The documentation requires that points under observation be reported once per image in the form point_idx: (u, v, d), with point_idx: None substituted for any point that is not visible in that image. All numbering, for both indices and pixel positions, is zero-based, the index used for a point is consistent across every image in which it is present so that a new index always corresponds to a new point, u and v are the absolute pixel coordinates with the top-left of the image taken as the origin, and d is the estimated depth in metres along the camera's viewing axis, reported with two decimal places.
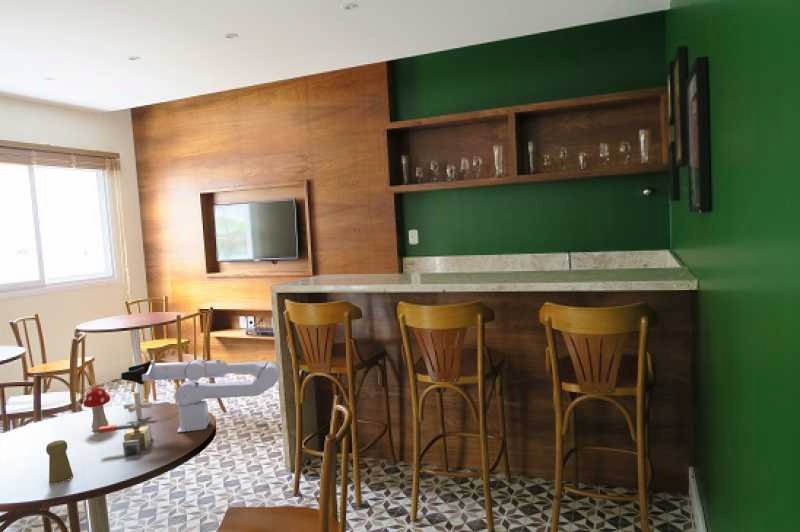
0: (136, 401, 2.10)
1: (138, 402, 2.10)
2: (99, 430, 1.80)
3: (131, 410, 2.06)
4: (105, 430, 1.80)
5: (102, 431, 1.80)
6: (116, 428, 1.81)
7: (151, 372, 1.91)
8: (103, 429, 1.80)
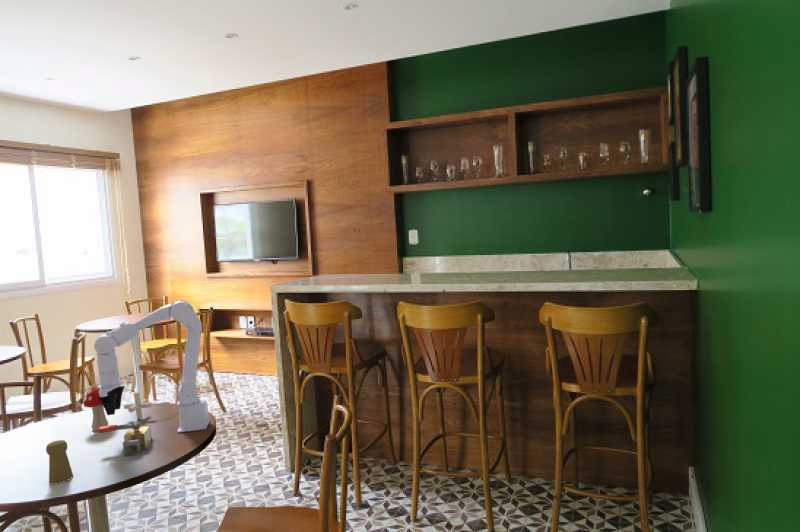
0: (136, 401, 2.10)
1: (138, 402, 2.10)
2: (99, 430, 1.80)
3: (131, 410, 2.06)
4: (105, 430, 1.80)
5: (102, 431, 1.80)
6: (116, 428, 1.81)
7: (105, 387, 1.84)
8: (103, 429, 1.80)
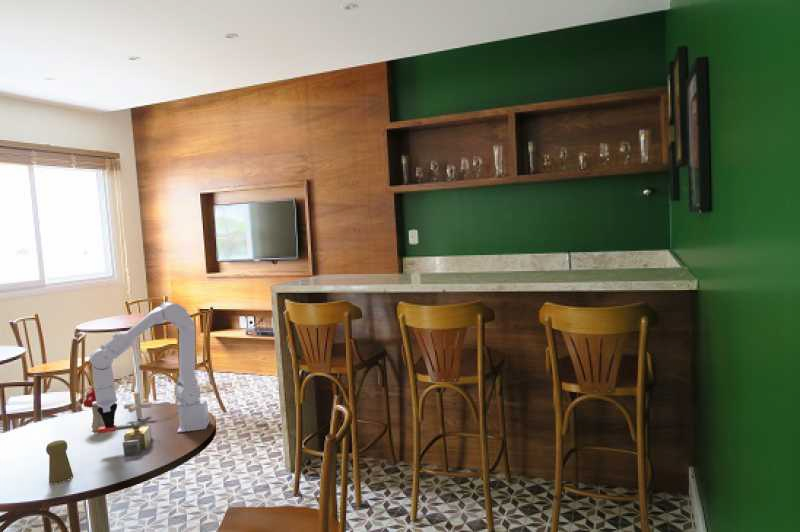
0: (136, 401, 2.10)
1: (138, 402, 2.10)
2: (99, 430, 1.79)
3: (131, 410, 2.06)
4: (105, 430, 1.80)
5: (102, 431, 1.79)
6: (116, 428, 1.80)
7: (104, 403, 1.79)
8: (103, 429, 1.79)
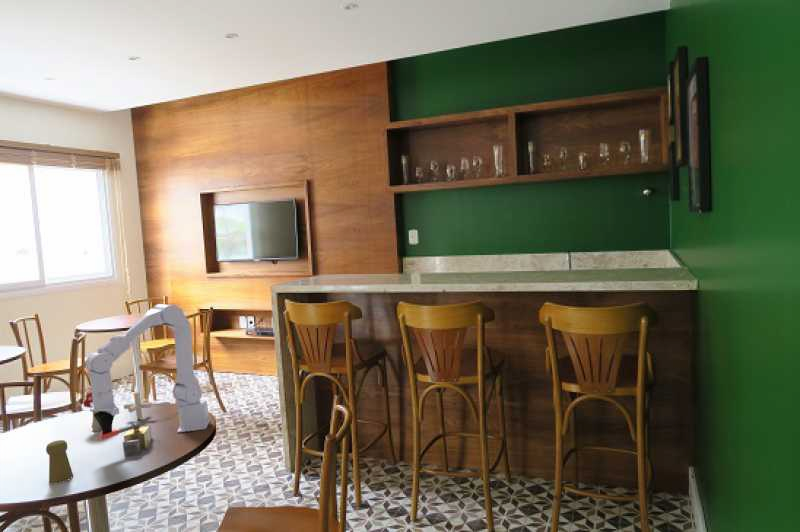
0: (136, 401, 2.10)
1: (138, 402, 2.10)
2: (102, 436, 1.74)
3: (131, 410, 2.06)
4: (108, 435, 1.75)
5: (105, 437, 1.74)
6: (119, 431, 1.77)
7: (106, 407, 1.74)
8: (106, 434, 1.74)
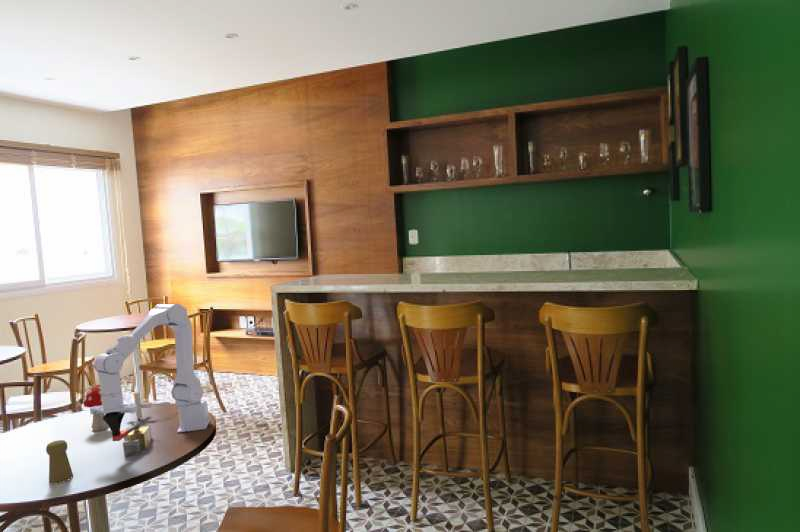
0: (136, 401, 2.10)
1: (138, 402, 2.10)
2: (119, 437, 1.72)
3: None
4: (122, 436, 1.73)
5: (121, 437, 1.72)
6: (128, 431, 1.77)
7: (120, 407, 1.72)
8: (121, 435, 1.73)
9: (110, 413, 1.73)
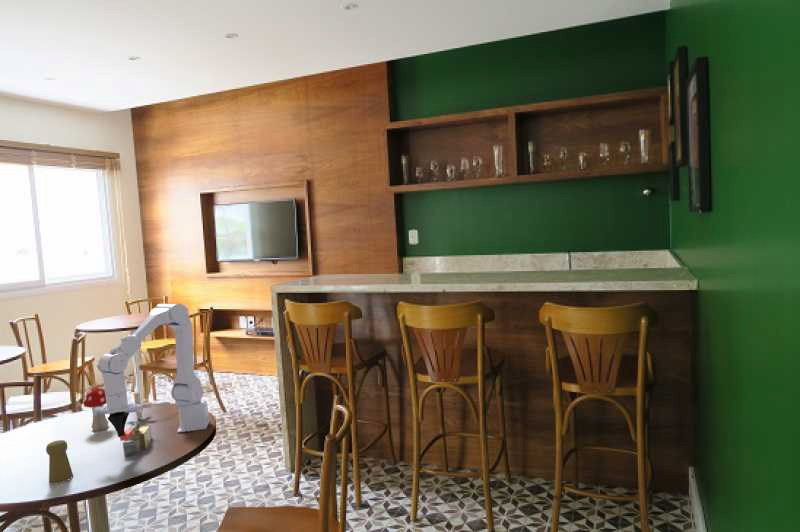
0: (136, 401, 2.10)
1: (138, 402, 2.10)
2: (127, 436, 1.72)
3: None
4: (129, 435, 1.74)
5: (128, 437, 1.73)
6: (132, 431, 1.77)
7: (126, 407, 1.72)
8: (128, 434, 1.73)
9: (115, 413, 1.72)
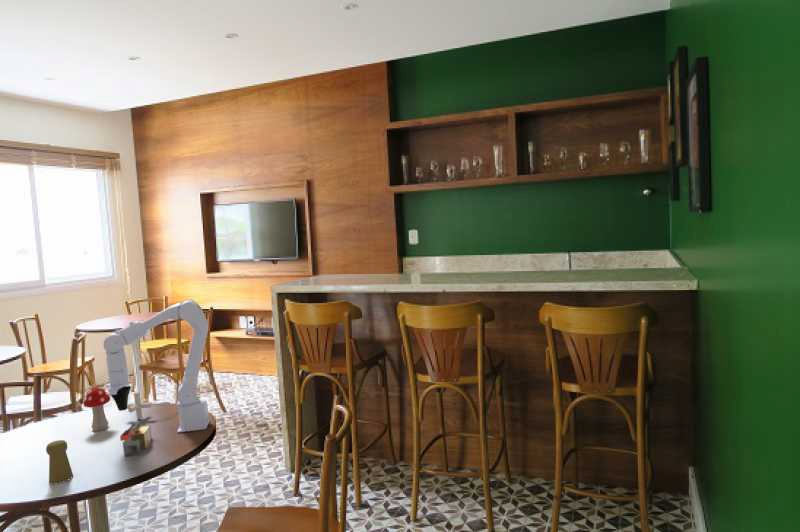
0: (136, 401, 2.10)
1: (138, 402, 2.10)
2: (127, 436, 1.72)
3: (131, 410, 2.06)
4: (129, 435, 1.74)
5: (128, 437, 1.73)
6: (132, 431, 1.77)
7: (114, 385, 1.85)
8: (128, 434, 1.73)
9: None
